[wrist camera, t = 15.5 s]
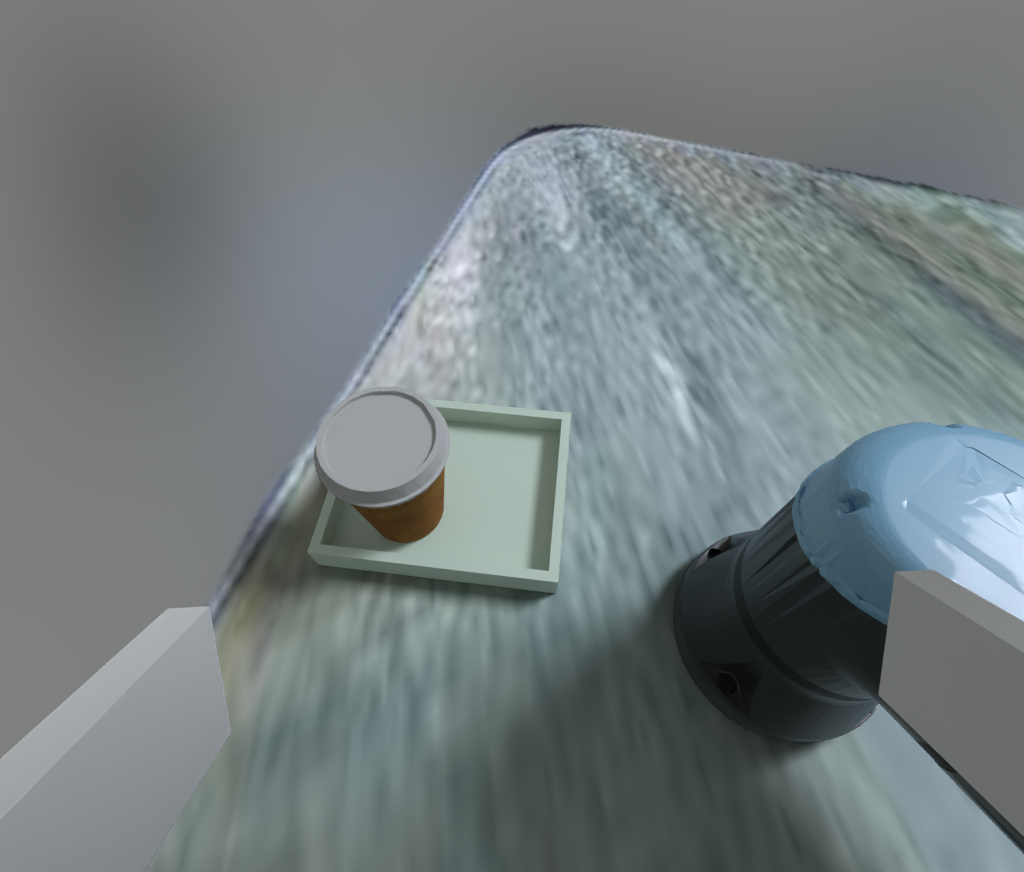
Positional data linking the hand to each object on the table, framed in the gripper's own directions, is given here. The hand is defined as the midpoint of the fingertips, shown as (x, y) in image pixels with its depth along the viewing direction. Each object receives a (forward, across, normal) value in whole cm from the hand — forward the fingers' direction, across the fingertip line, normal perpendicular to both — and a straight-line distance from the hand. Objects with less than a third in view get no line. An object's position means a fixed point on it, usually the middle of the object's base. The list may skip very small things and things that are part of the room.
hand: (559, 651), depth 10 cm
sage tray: (+37, -5, -9) cm, 39 cm away
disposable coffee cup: (+35, -9, -10) cm, 38 cm away
